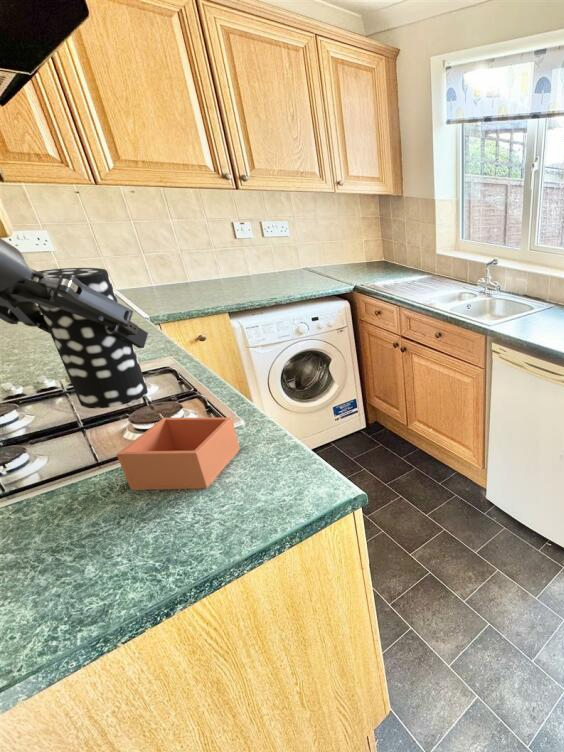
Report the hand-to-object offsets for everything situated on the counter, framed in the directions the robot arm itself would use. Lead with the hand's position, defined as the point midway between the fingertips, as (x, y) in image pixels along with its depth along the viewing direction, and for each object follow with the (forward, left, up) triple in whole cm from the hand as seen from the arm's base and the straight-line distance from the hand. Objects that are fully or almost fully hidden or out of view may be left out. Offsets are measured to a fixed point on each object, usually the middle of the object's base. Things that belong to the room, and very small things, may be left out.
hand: (112, 339), depth 68 cm
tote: (+4, +2, -27) cm, 27 cm away
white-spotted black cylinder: (+1, -3, -9) cm, 9 cm away
